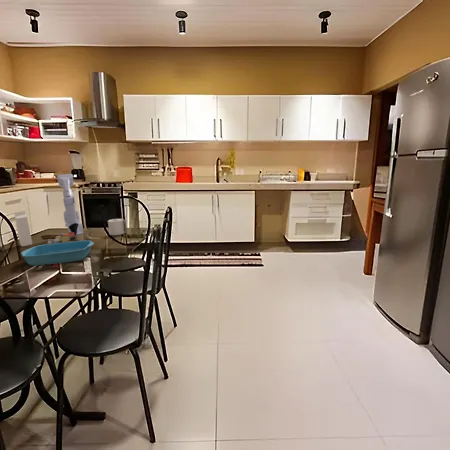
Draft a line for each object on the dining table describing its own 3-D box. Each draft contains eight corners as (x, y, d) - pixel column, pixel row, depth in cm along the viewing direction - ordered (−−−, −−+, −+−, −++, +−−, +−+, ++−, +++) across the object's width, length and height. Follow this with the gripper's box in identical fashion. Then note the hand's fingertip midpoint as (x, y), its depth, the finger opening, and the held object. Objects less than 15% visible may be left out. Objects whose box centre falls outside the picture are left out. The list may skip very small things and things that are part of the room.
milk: (32, 244, 209) (26, 212, 204) (21, 246, 205) (15, 213, 200) (30, 243, 213) (24, 211, 209) (20, 244, 210) (13, 212, 205)
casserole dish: (15, 269, 161) (12, 256, 160) (32, 256, 183) (30, 245, 181) (91, 261, 168) (89, 249, 167) (98, 249, 189) (97, 238, 188)
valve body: (72, 237, 223) (71, 232, 222) (78, 237, 221) (77, 232, 220) (47, 245, 205) (46, 239, 205) (52, 245, 203) (51, 240, 202)
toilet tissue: (109, 232, 231) (108, 219, 229) (126, 230, 234) (125, 217, 232) (109, 236, 221) (107, 222, 219) (126, 234, 224) (125, 220, 222)
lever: (58, 235, 212) (58, 232, 211) (62, 234, 214) (61, 231, 213) (72, 237, 207) (71, 233, 206) (75, 235, 209) (74, 232, 208)
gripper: (71, 213, 215) (74, 232, 218) (59, 217, 201) (62, 237, 204) (81, 212, 215) (84, 231, 218) (70, 217, 201) (73, 237, 204)
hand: (74, 234), depth 211 cm, fingers closed
